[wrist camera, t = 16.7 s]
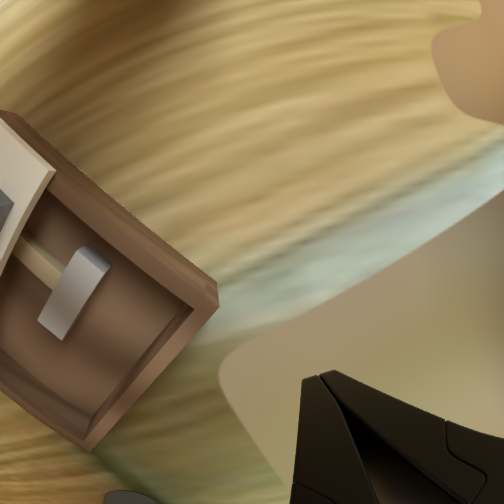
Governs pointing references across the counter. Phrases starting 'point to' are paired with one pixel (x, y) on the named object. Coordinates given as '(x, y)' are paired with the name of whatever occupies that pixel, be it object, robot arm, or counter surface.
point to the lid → (18, 186)
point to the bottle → (127, 498)
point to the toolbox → (90, 304)
